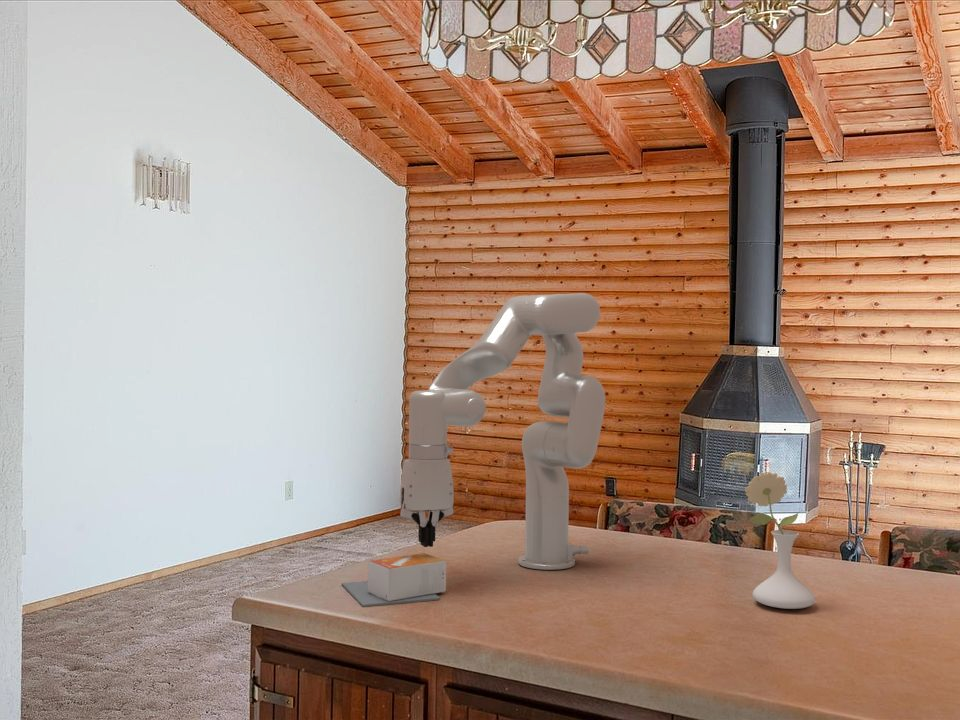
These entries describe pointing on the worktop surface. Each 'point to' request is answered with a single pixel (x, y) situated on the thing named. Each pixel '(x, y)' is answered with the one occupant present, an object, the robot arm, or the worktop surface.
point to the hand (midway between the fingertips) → (426, 545)
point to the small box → (406, 576)
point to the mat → (367, 599)
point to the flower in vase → (783, 583)
